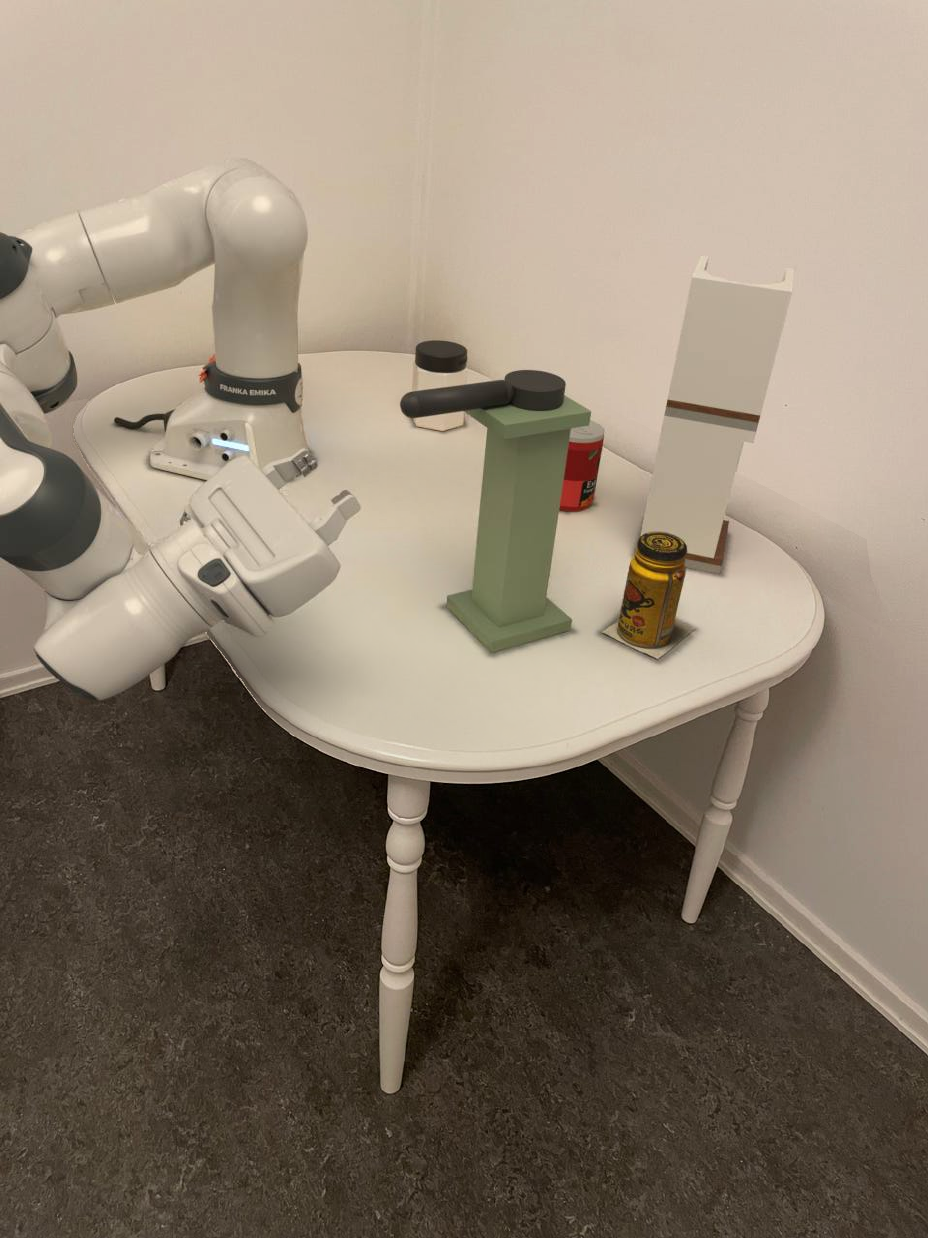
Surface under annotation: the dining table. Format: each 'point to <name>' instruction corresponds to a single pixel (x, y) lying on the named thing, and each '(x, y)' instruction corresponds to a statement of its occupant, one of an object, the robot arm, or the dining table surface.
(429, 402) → the dark grey paddle
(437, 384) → the jar
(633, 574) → the condiment
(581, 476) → the canned food
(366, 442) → the dining table surface
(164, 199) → the robot arm
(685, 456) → the white channel column
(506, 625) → the stand
